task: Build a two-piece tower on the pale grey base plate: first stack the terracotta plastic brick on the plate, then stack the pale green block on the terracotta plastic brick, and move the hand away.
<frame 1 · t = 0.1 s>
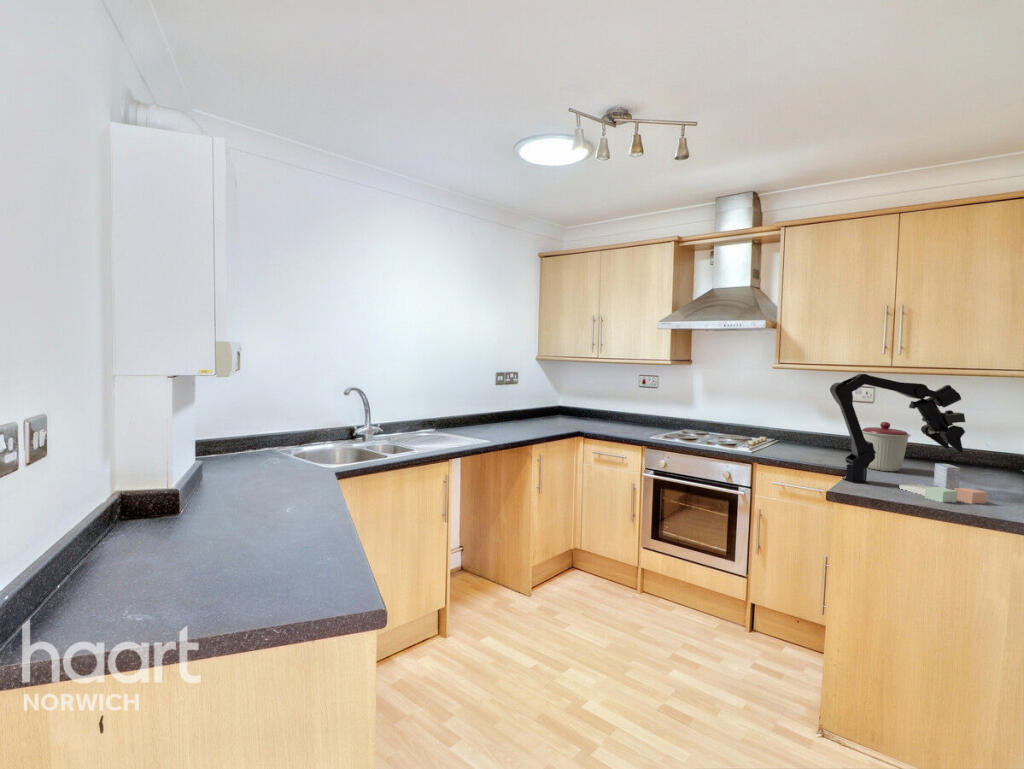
hand: (954, 450, 195), 15 cm above the table, tool tilted 30°, fingers open, 9 cm apart
bottom brick: (969, 501, 180), on the table
pale green block: (940, 500, 180), on the table
medicine box: (945, 488, 199), on the table
canister: (881, 469, 232), on the table
base plate: (923, 492, 191), on the table
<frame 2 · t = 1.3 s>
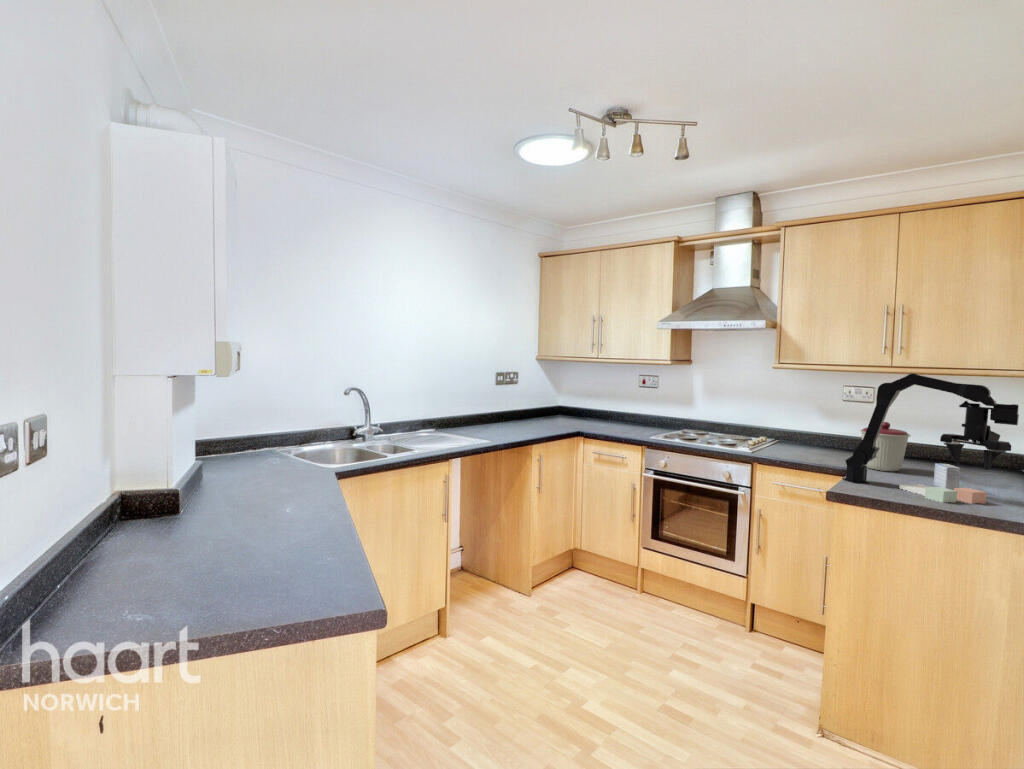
hand: (971, 467, 180), 12 cm above the table, tool pointing down, fingers open, 9 cm apart
nothing on the table moved.
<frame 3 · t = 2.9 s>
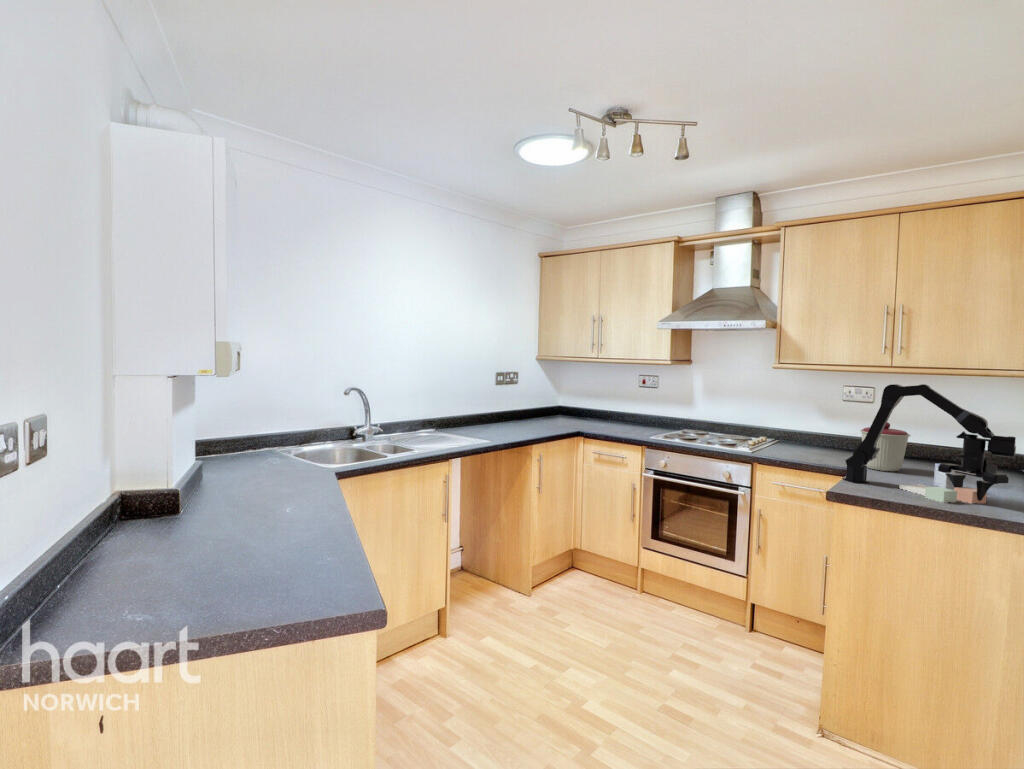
hand: (969, 497, 180), 1 cm above the table, tool pointing down, fingers closed on bottom brick, 6 cm apart
bottom brick: (969, 501, 180), on the table, touching gripper
everything else where it was.
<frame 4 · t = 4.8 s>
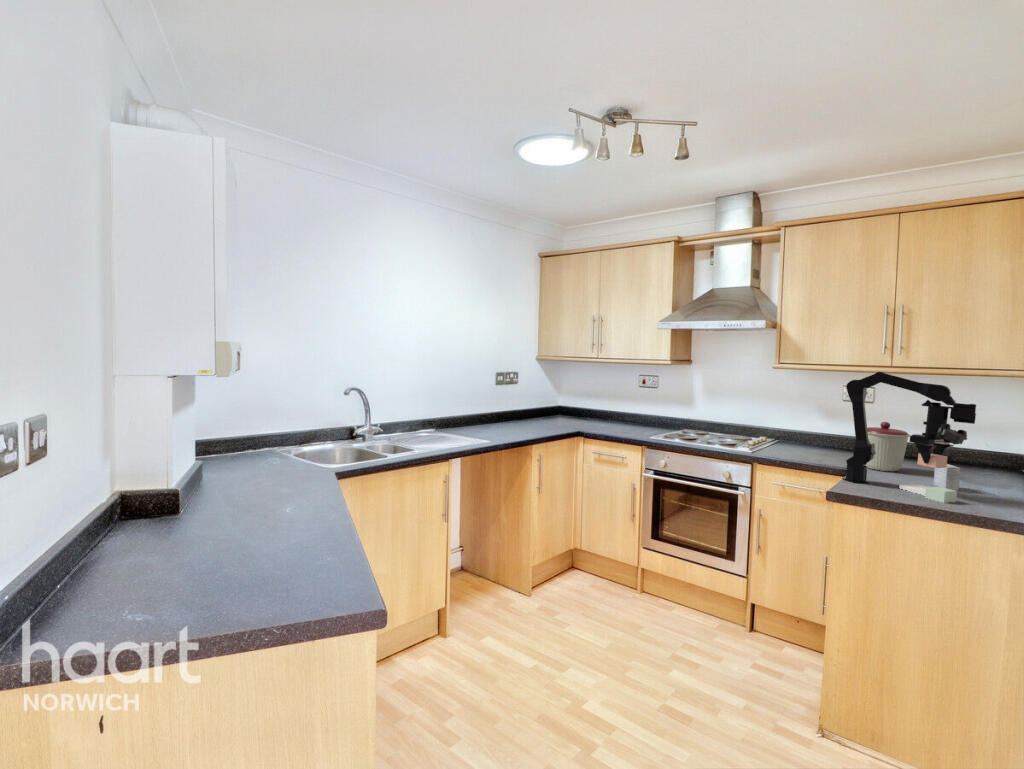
hand: (931, 463, 189), 11 cm above the table, tool pointing down, fingers closed on bottom brick, 6 cm apart
bottom brick: (931, 465, 189), point 10 cm above the table, touching gripper
everything else where it was.
when the fingers open (3 cm above the table, at t = 7.0 s): bottom brick stays where it is, resting on base plate.
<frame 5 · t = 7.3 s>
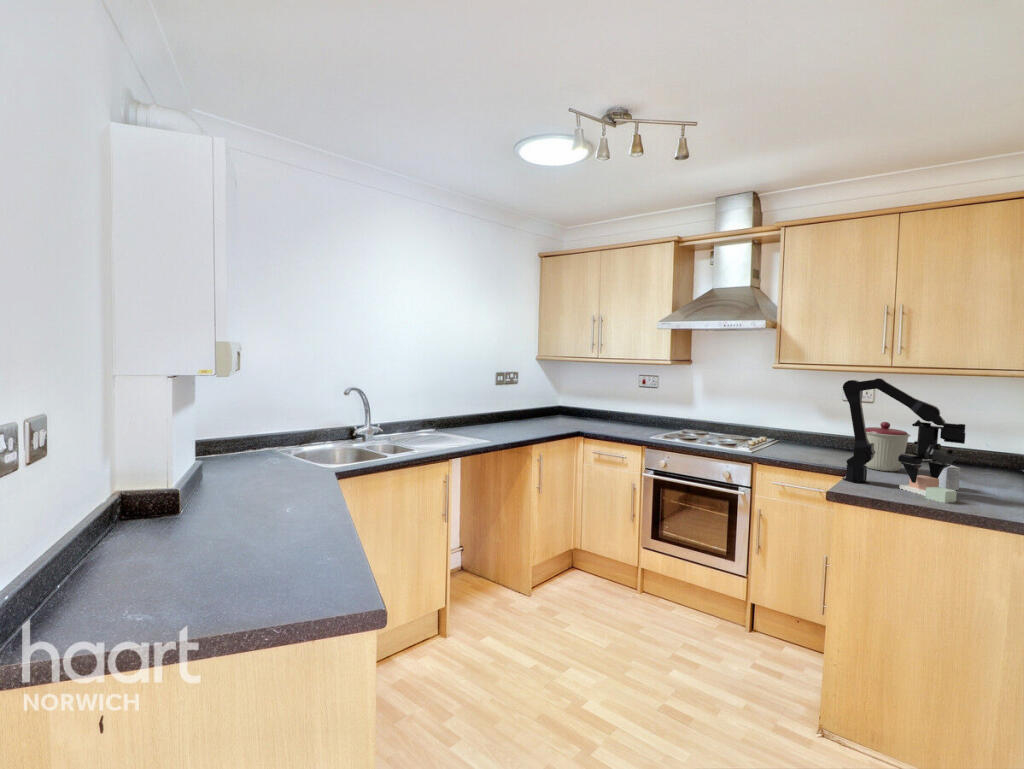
hand: (923, 482, 191), 3 cm above the table, tool pointing down, fingers open, 9 cm apart
bottom brick: (923, 488, 191), point 1 cm above the table, touching base plate
everything else where it was.
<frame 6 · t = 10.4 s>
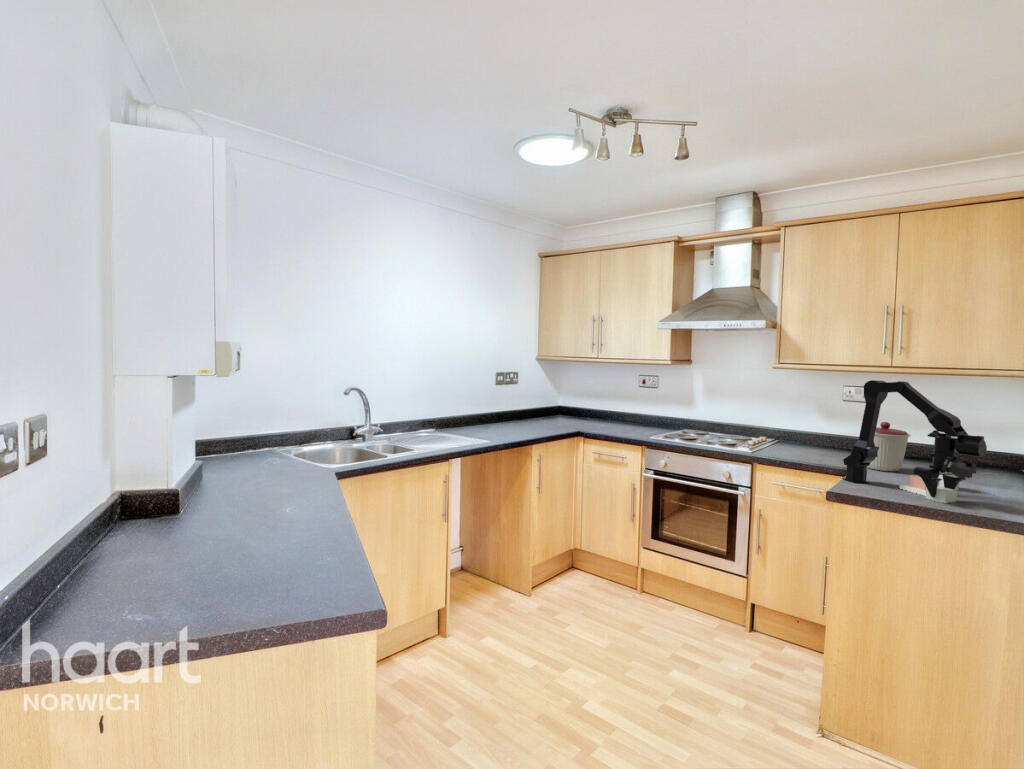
hand: (940, 497, 180), 1 cm above the table, tool pointing down, fingers closed on pale green block, 6 cm apart
pale green block: (940, 500, 180), on the table, touching gripper
everything else where it was.
when the fingers open (7 cm above the table, at t = 14.4 s): pale green block stays where it is, resting on bottom brick.
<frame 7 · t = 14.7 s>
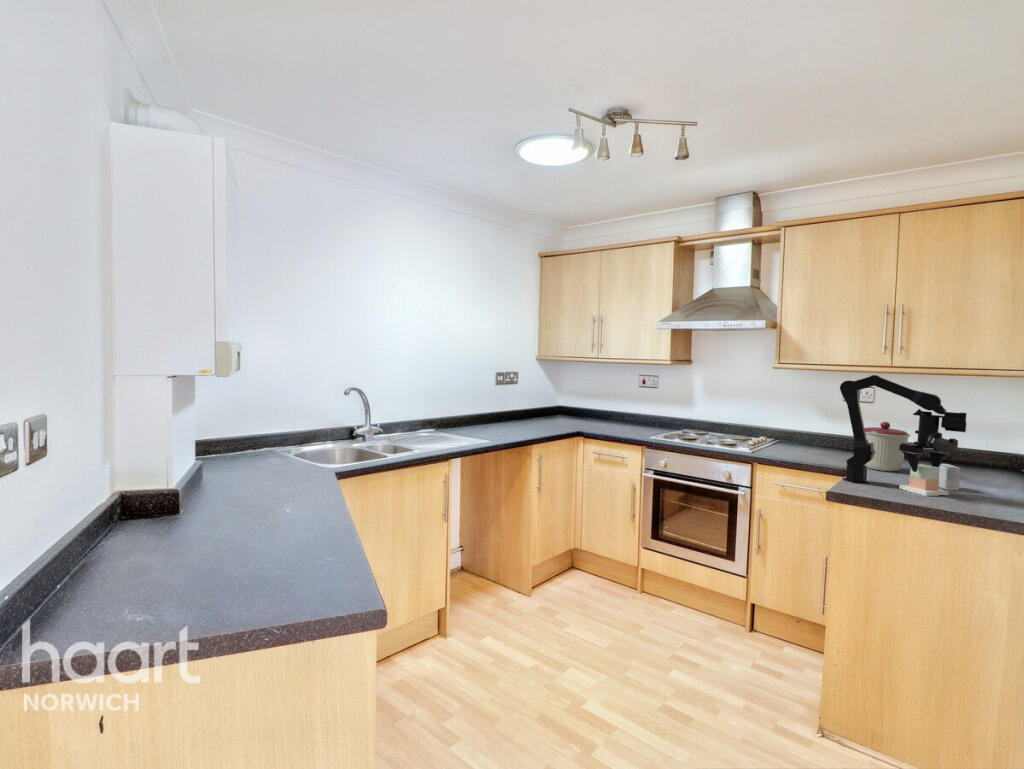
hand: (924, 471, 190), 7 cm above the table, tool pointing down, fingers open, 9 cm apart
bottom brick: (923, 488, 191), point 1 cm above the table, touching base plate, pale green block
pale green block: (924, 477, 190), point 5 cm above the table, touching bottom brick
everything else where it was.
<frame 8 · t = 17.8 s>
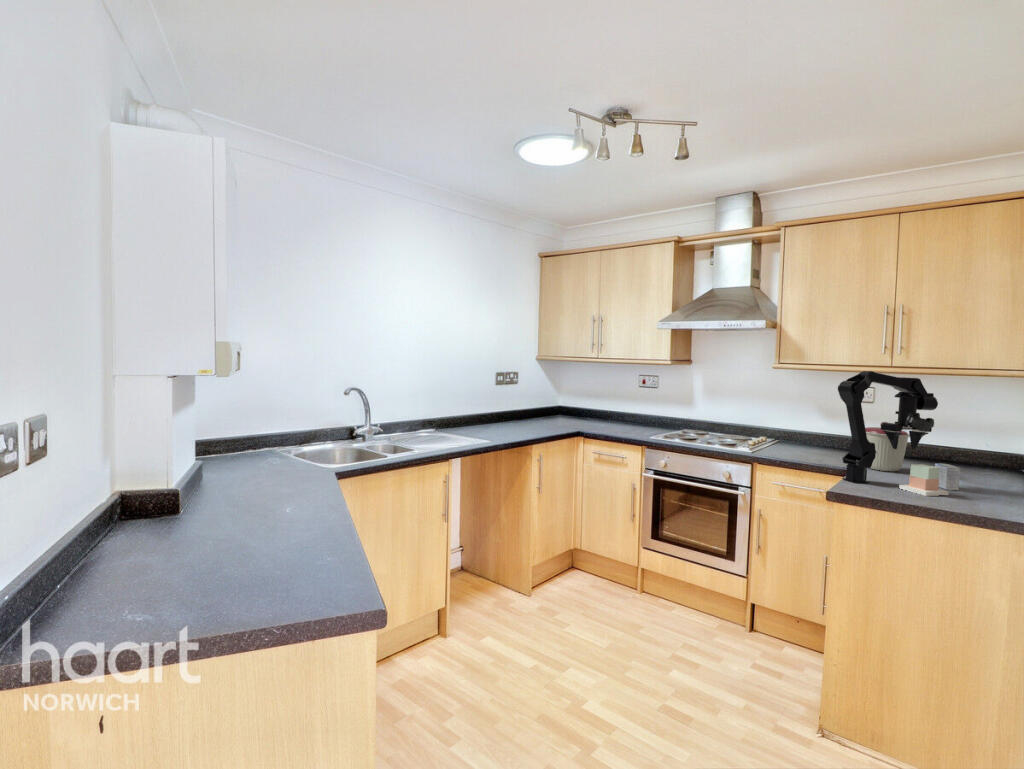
hand: (904, 449, 206), 13 cm above the table, tool pointing down, fingers open, 9 cm apart
nothing on the table moved.
at the end: bottom brick inside the target area on the base plate (0.0 cm from its centre), point 1.5 cm above the base plate's base; pale green block 0.0 cm off-centre on the bottom brick, point 4.0 cm above the bottom brick's base; the gripper is holding nothing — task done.
